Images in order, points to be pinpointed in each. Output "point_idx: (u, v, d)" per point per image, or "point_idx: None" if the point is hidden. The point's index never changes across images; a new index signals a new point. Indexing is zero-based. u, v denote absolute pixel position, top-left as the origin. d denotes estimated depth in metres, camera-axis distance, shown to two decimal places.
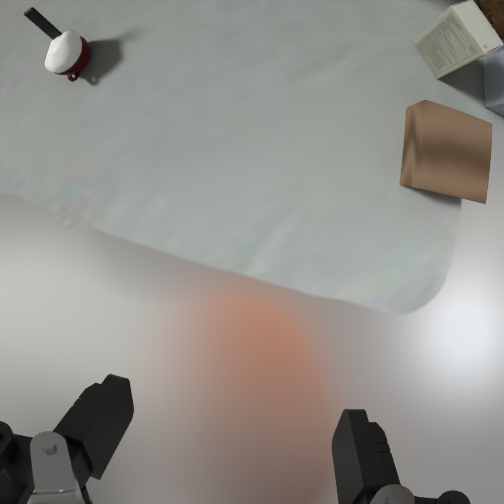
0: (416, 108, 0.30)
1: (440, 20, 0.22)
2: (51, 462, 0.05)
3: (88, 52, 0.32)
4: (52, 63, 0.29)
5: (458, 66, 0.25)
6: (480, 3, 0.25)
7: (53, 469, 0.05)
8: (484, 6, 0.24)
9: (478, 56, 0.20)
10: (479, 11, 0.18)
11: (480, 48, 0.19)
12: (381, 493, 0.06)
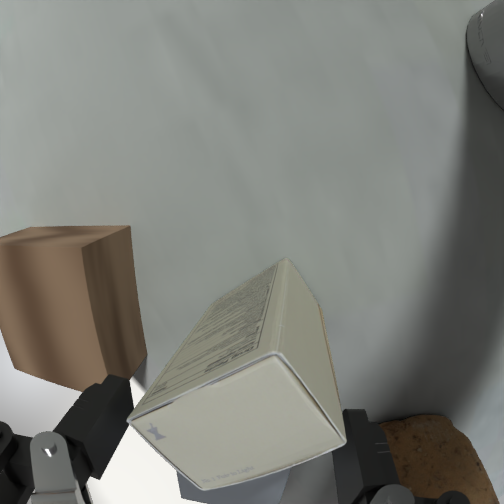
0: (95, 236, 0.17)
1: (270, 311, 0.11)
2: (51, 462, 0.05)
3: None
4: None
5: (180, 346, 0.14)
6: (414, 420, 0.21)
7: (53, 469, 0.05)
8: (406, 428, 0.20)
9: (140, 401, 0.10)
10: (303, 458, 0.08)
11: (139, 415, 0.09)
12: (381, 493, 0.06)
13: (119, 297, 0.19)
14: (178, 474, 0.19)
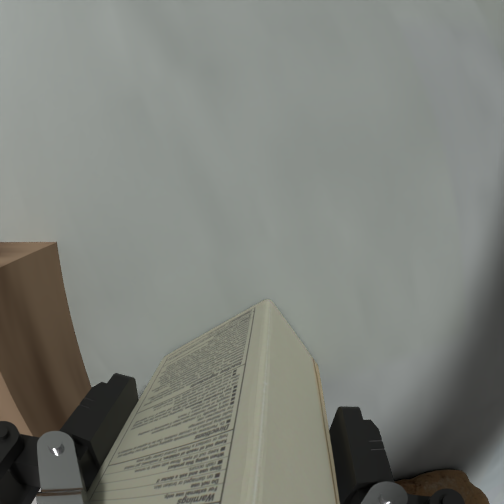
0: (2, 261, 0.10)
1: (232, 483, 0.04)
2: (57, 462, 0.06)
3: None
4: None
5: (112, 449, 0.08)
6: (426, 479, 0.15)
7: (61, 469, 0.05)
8: (417, 491, 0.14)
9: None
10: None
11: None
12: (374, 490, 0.06)
13: (44, 341, 0.12)
14: None
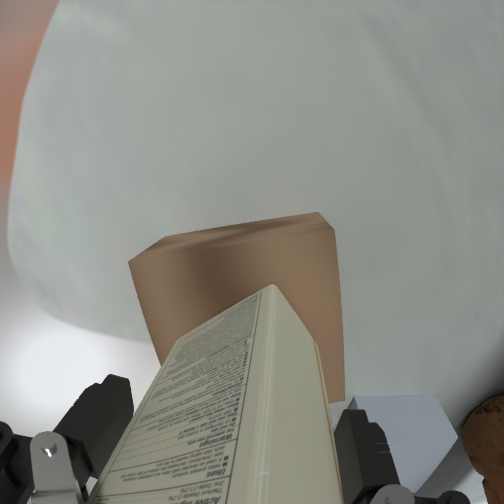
0: (314, 222, 0.16)
1: (246, 423, 0.06)
2: (51, 462, 0.05)
3: None
4: None
5: (133, 417, 0.10)
6: None
7: (53, 469, 0.05)
8: None
9: None
10: None
11: None
12: (381, 493, 0.06)
13: None
14: None
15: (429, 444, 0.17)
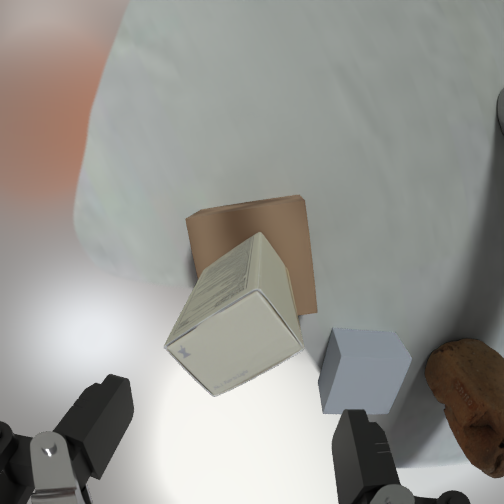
0: (295, 198, 0.27)
1: (251, 268, 0.17)
2: (51, 462, 0.05)
3: None
4: None
5: (188, 299, 0.21)
6: (464, 340, 0.32)
7: (53, 469, 0.05)
8: (462, 343, 0.31)
9: (170, 334, 0.16)
10: (278, 361, 0.15)
11: (173, 340, 0.15)
12: (381, 493, 0.06)
13: None
14: (333, 384, 0.29)
15: (388, 360, 0.28)
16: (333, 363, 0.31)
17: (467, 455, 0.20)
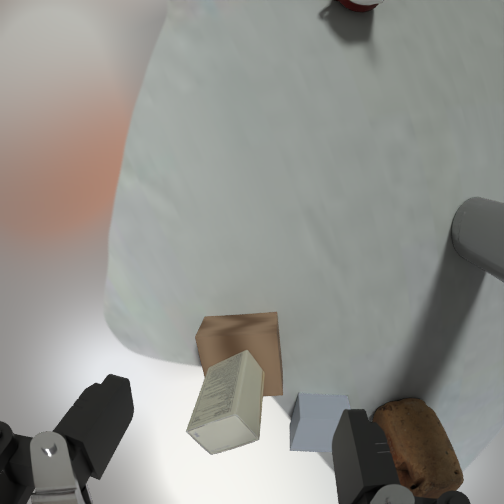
0: (271, 323, 0.39)
1: (235, 394, 0.29)
2: (51, 462, 0.05)
3: (358, 10, 0.29)
4: None
5: (198, 396, 0.32)
6: (405, 400, 0.44)
7: (53, 469, 0.05)
8: (401, 404, 0.43)
9: (189, 423, 0.28)
10: (245, 443, 0.27)
11: (191, 429, 0.27)
12: (381, 493, 0.06)
13: (279, 346, 0.41)
14: (296, 433, 0.41)
15: (335, 420, 0.40)
16: (296, 419, 0.42)
17: None
